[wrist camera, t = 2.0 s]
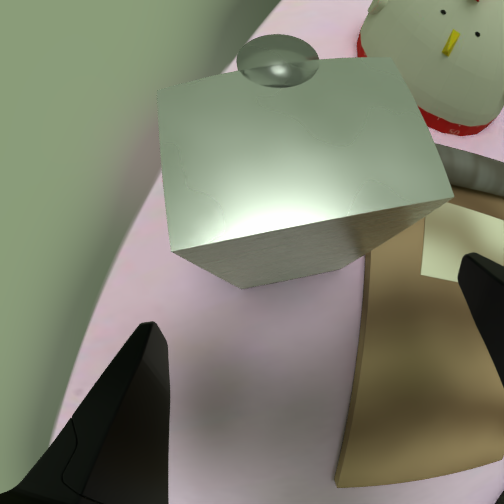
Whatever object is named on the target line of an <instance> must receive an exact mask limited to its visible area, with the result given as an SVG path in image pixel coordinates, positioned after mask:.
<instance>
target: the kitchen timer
mask: <svg viewBox="0 0 504 504" xmlns="http://www.w3.org/2000/svg"><path fill="white" fill-rule="evenodd" d="M368 12H369V13H368V15H367V17H366V19H365V21H364V23H363V26H362V28H361V30H360V34H359V38H358V42H357V52H358V57H391V58H392V60H393V61H394V63H395V65H396V67H397V68H398V70H399V72H400V74H401V75H402V77H403V79H404V81H405V83H406V85H407V86H408V88H409V90H410V92H411V94H412V96H413V98H414V100H415V102H416V104H417V106H418V108H419V110H420V112H421V114H422V116H423V118H424V121H425V123H426V125H427V126H428V127H430V128H433V129H435V130H437V131H440V132H442V133H447V134H453V135H458V136H466V135H472V134H477V133H479V132H480V131H482V130H483V129H484V128H486V127H487V126H488V125H489V124H490V123H491V122H492V121H493V120H494V119H495V118H496V117H497V116H498V115H499V113H500V112H501V110H502V108H503V106H504V0H373V1H372V3H371V5H370V7H369V9H368Z"/></svg>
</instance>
